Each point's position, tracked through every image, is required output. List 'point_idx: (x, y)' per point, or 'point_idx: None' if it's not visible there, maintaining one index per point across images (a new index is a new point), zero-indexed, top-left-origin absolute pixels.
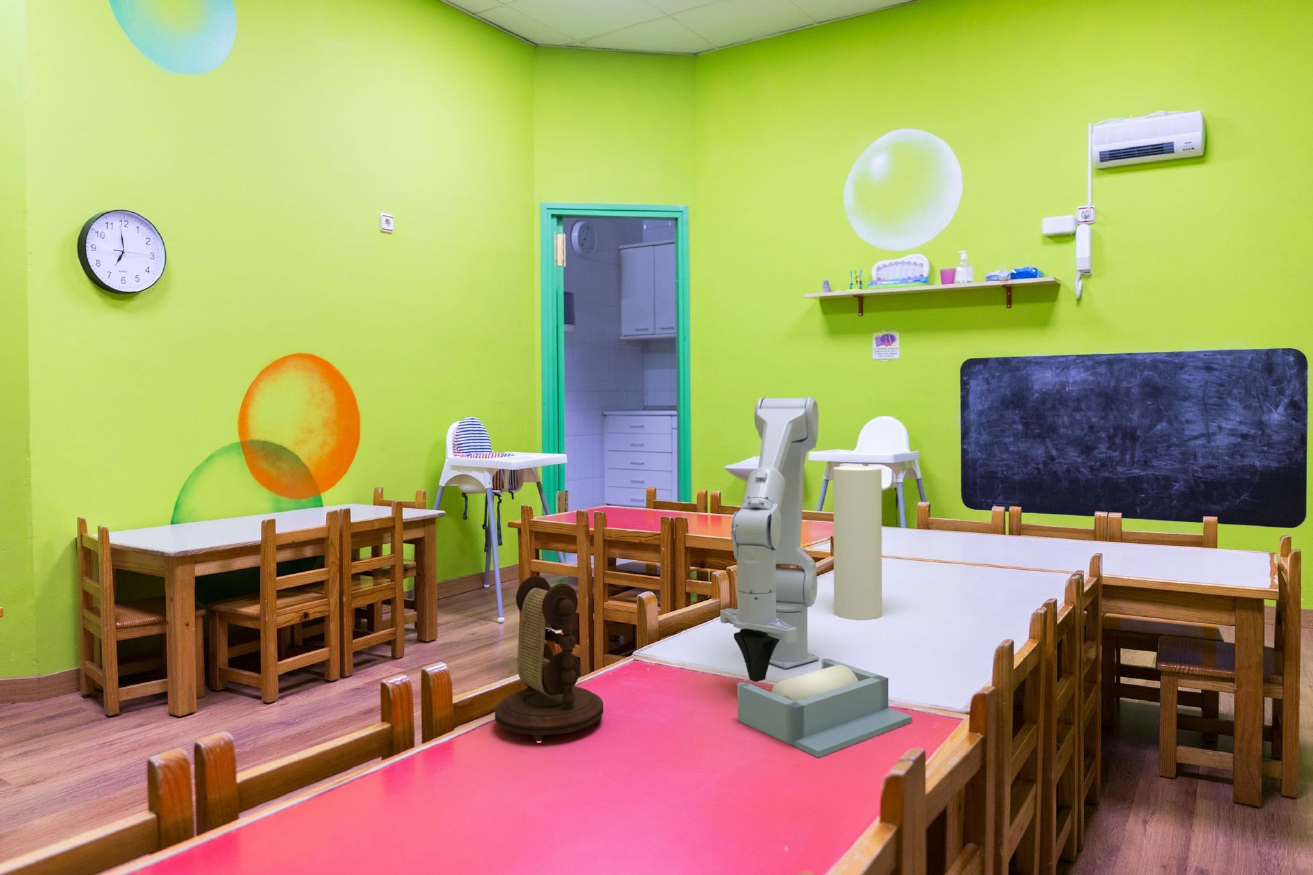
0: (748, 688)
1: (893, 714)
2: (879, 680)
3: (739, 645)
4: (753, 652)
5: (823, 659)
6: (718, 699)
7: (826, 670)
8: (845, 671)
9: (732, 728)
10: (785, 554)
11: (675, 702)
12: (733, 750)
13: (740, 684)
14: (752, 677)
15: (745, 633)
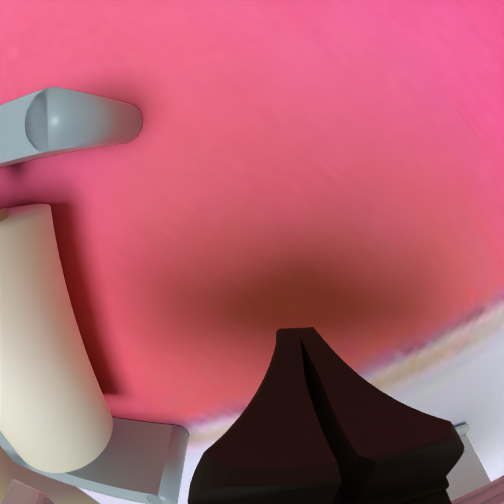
0: (4, 113)
1: None
2: (3, 447)
3: (397, 408)
4: (261, 413)
5: (173, 501)
6: (343, 176)
7: (2, 424)
8: (11, 445)
9: (97, 55)
10: None
11: (408, 46)
12: (15, 8)
13: (54, 103)
14: (292, 333)
15: (395, 493)
